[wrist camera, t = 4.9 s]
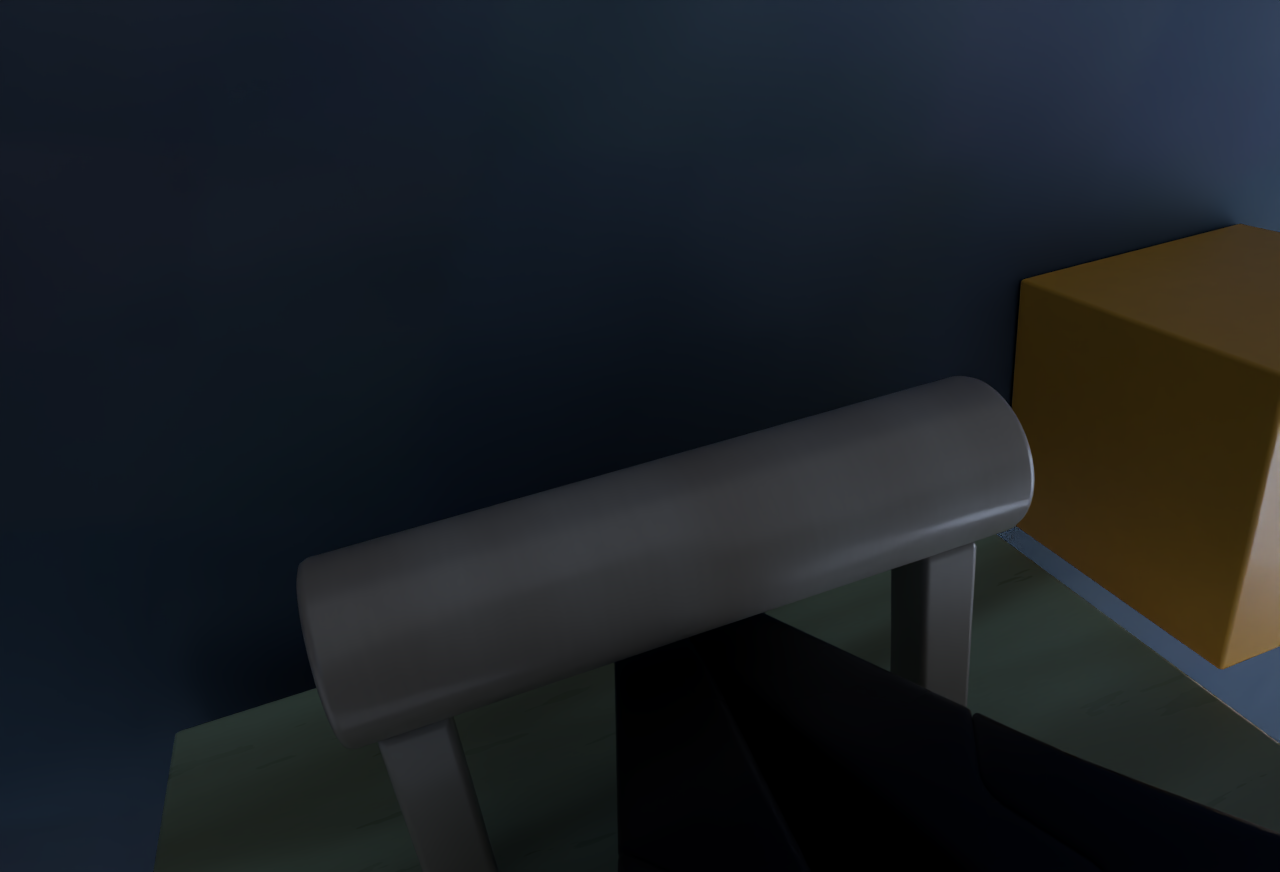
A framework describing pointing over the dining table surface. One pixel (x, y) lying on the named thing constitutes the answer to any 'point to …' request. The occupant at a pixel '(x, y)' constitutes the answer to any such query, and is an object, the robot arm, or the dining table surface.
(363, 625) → the drawer
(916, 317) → the dining table surface
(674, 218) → the dining table surface
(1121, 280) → the block
